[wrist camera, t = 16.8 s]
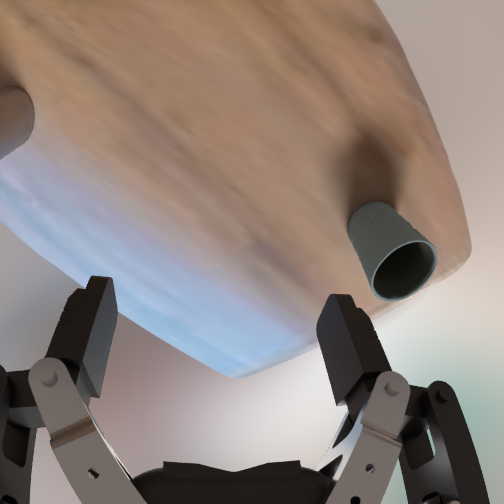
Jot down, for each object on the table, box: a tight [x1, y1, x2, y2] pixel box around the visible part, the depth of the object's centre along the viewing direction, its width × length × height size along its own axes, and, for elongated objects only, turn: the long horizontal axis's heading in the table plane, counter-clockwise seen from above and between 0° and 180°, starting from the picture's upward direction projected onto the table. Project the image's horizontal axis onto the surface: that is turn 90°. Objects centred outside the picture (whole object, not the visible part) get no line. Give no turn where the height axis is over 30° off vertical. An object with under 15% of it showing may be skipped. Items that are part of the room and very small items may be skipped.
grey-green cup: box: [348, 202, 437, 301], centre depth 42 cm, size 10×10×12 cm
